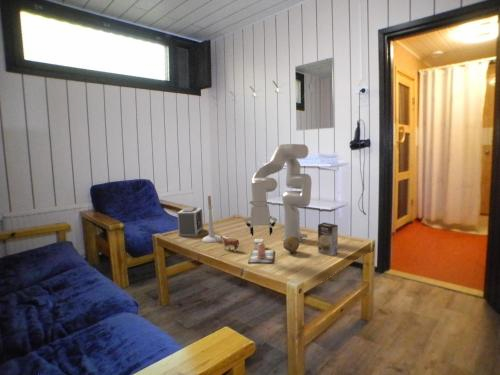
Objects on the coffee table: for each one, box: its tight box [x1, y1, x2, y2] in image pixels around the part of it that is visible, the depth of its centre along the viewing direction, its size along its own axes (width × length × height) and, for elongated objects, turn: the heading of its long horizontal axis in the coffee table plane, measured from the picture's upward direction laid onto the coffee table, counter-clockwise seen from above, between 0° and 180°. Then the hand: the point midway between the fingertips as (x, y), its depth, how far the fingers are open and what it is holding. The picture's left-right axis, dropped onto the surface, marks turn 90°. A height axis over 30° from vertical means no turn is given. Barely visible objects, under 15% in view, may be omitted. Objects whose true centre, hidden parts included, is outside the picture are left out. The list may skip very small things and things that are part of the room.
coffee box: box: [317, 222, 339, 257], centre depth 168 cm, size 9×6×16 cm
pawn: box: [257, 242, 266, 259], centre depth 164 cm, size 5×5×8 cm
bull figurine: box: [220, 234, 240, 253], centre depth 181 cm, size 4×13×8 cm, turn 51°
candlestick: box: [201, 195, 222, 244], centre depth 201 cm, size 13×13×30 cm
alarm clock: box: [176, 207, 204, 237], centre depth 222 cm, size 18×13×18 cm
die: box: [253, 238, 264, 250], centre depth 182 cm, size 5×5×5 cm
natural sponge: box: [282, 235, 300, 254], centre depth 171 cm, size 9×9×10 cm
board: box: [247, 249, 275, 264], centre depth 167 cm, size 13×18×1 cm
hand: (261, 234), depth 164 cm, fingers open, 9 cm apart
